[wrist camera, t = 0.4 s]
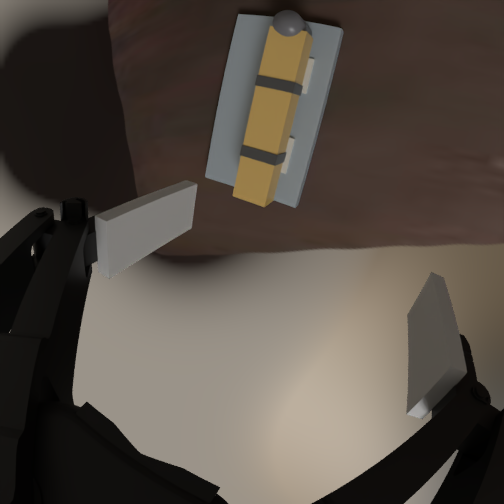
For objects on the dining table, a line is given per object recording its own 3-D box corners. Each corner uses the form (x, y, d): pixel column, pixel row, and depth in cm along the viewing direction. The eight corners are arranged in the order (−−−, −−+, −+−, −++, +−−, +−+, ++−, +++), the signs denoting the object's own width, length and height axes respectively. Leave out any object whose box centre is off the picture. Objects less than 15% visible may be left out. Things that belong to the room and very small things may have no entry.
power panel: (243, 17, 30) (237, 13, 28) (343, 32, 26) (341, 27, 25) (210, 175, 41) (203, 177, 40) (298, 204, 38) (294, 208, 36)
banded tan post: (284, 20, 26) (270, 8, 23) (319, 25, 25) (310, 12, 22) (245, 188, 38) (228, 197, 34) (276, 199, 36) (262, 209, 33)
